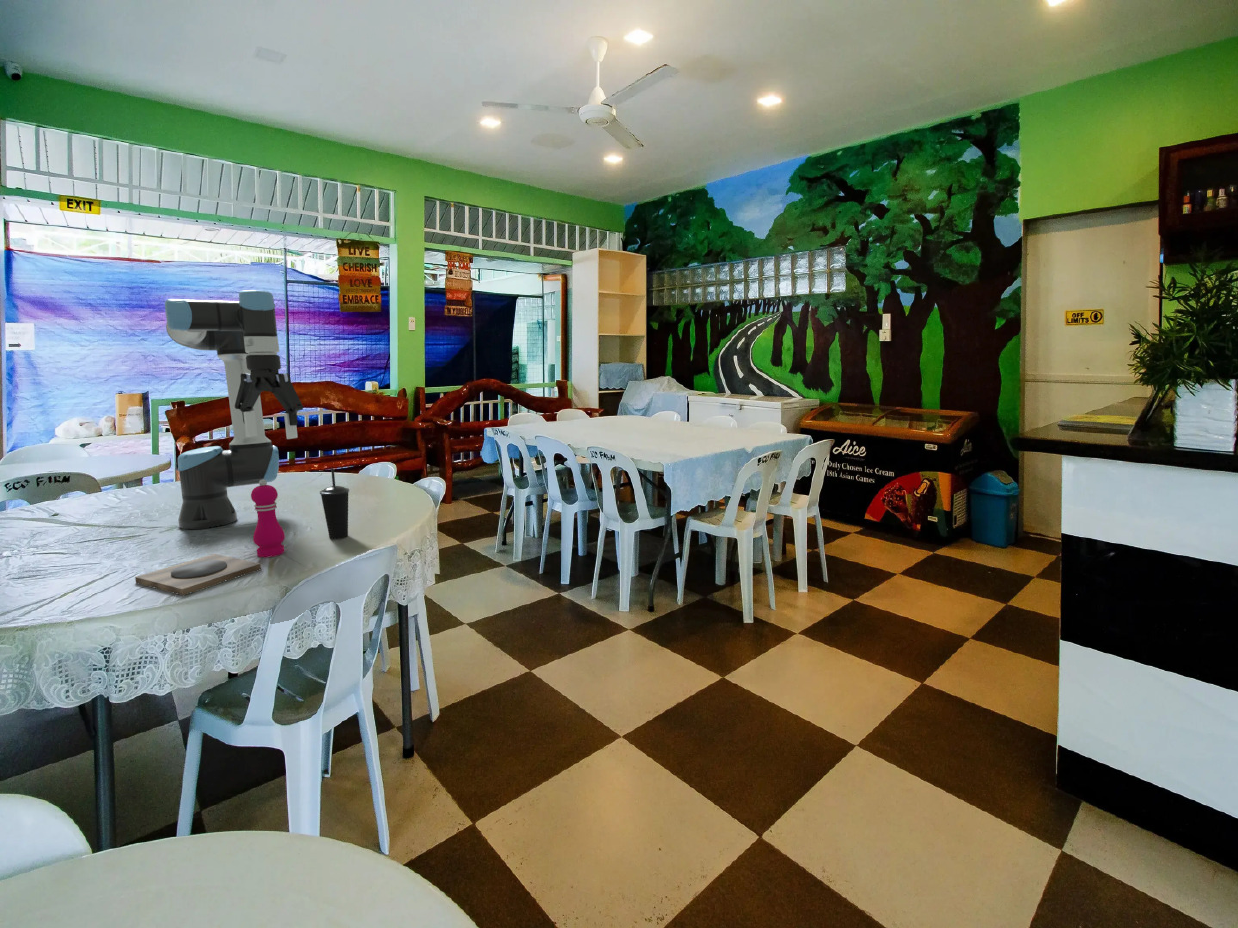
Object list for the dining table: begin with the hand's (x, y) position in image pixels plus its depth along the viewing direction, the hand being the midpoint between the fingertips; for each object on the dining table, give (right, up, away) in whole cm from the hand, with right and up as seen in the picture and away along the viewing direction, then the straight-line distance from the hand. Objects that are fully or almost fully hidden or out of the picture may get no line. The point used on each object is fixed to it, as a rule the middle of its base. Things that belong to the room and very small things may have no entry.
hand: (271, 437), depth 159 cm
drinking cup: (+10, -28, +17) cm, 34 cm away
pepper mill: (-2, -31, +3) cm, 31 cm away
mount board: (-9, -33, -13) cm, 37 cm away
